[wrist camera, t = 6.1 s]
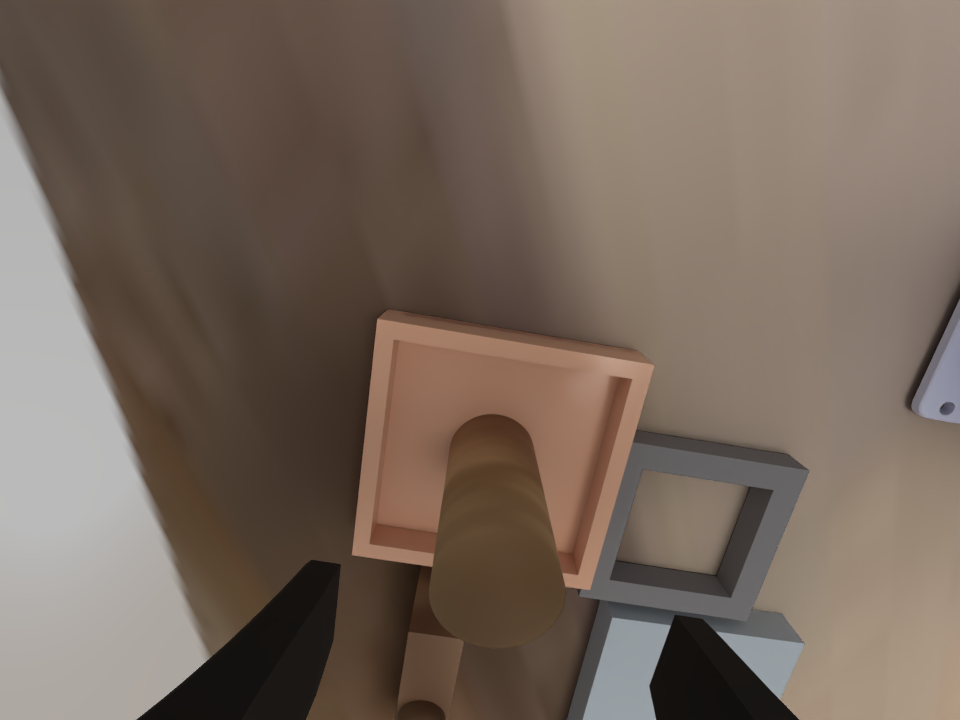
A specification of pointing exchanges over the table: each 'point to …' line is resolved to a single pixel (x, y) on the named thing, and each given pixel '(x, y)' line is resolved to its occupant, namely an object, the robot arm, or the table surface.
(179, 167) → the table surface
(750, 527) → the socket
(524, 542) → the dowel
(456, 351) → the tray
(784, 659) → the plate
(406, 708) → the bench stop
